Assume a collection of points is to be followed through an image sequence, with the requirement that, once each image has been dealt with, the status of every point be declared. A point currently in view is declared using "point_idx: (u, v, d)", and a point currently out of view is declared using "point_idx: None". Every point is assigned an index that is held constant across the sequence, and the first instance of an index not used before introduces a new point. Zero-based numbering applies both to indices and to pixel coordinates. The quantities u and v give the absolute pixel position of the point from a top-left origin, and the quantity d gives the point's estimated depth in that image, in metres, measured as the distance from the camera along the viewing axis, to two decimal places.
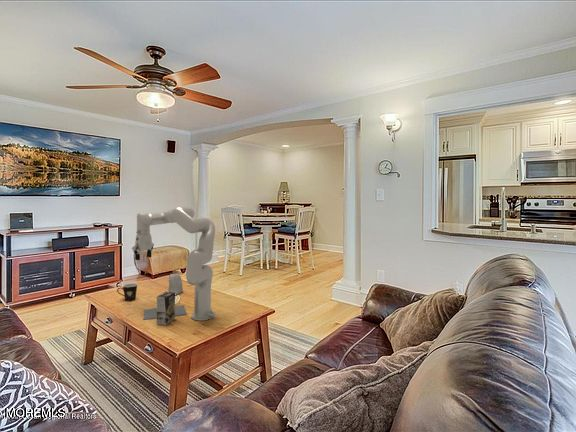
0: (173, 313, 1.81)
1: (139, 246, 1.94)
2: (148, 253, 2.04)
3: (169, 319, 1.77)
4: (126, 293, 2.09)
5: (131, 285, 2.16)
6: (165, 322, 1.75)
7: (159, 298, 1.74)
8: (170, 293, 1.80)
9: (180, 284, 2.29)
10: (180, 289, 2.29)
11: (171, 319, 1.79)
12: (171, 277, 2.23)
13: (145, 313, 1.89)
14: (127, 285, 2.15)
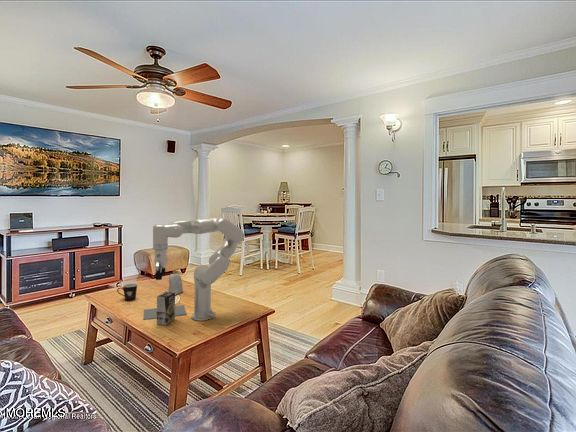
0: (173, 313, 1.81)
1: (162, 263, 1.68)
2: (161, 270, 1.77)
3: (169, 319, 1.77)
4: (126, 293, 2.09)
5: (131, 285, 2.16)
6: (165, 322, 1.75)
7: (159, 298, 1.74)
8: (170, 293, 1.80)
9: (180, 284, 2.29)
10: (180, 289, 2.29)
11: (171, 319, 1.79)
12: (171, 277, 2.23)
13: (145, 313, 1.89)
14: (127, 285, 2.15)
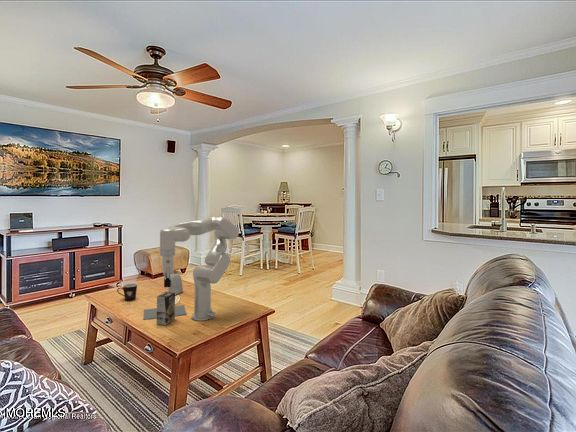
0: (173, 313, 1.81)
1: (171, 270, 1.59)
2: None
3: (169, 319, 1.77)
4: (126, 293, 2.09)
5: (131, 285, 2.16)
6: (165, 322, 1.75)
7: (159, 298, 1.74)
8: (170, 293, 1.80)
9: (180, 284, 2.29)
10: (180, 289, 2.29)
11: (171, 319, 1.79)
12: (171, 277, 2.23)
13: (145, 313, 1.89)
14: (127, 285, 2.15)
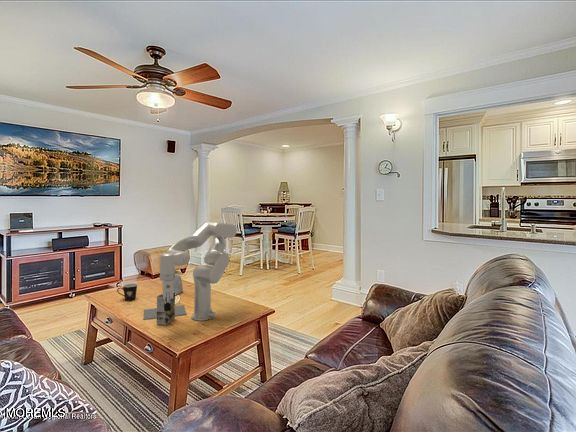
0: (173, 313, 1.81)
1: (171, 294, 1.60)
2: None
3: (169, 319, 1.77)
4: (126, 293, 2.09)
5: (131, 285, 2.16)
6: (165, 322, 1.75)
7: (159, 298, 1.74)
8: None
9: (180, 284, 2.29)
10: (180, 289, 2.29)
11: (171, 319, 1.79)
12: None
13: (145, 313, 1.89)
14: (127, 285, 2.15)
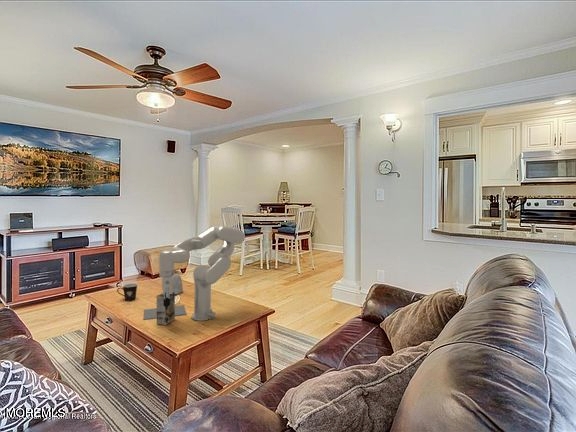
0: (173, 313, 1.81)
1: (170, 290, 1.67)
2: None
3: (169, 318, 1.77)
4: (126, 293, 2.09)
5: (131, 285, 2.16)
6: (165, 322, 1.75)
7: (159, 298, 1.75)
8: None
9: (180, 284, 2.29)
10: (180, 289, 2.29)
11: (171, 319, 1.79)
12: None
13: (145, 313, 1.89)
14: (127, 285, 2.15)
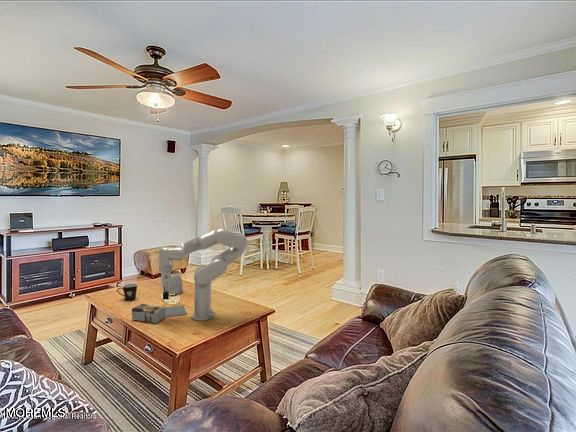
0: (157, 307, 1.83)
1: (169, 284, 1.78)
2: None
3: (155, 310, 1.79)
4: (126, 293, 2.09)
5: (131, 285, 2.16)
6: (153, 313, 1.76)
7: (133, 316, 1.79)
8: None
9: (180, 284, 2.29)
10: (180, 289, 2.29)
11: (158, 309, 1.80)
12: (171, 277, 2.23)
13: None
14: (127, 285, 2.15)
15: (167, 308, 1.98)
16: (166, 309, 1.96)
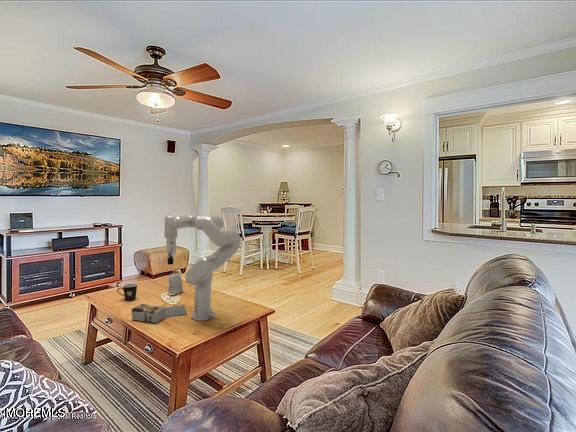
0: (157, 307, 1.83)
1: (174, 249, 1.91)
2: None
3: (155, 310, 1.79)
4: (126, 293, 2.09)
5: (131, 285, 2.16)
6: (153, 313, 1.76)
7: (133, 316, 1.79)
8: None
9: (180, 284, 2.29)
10: (180, 289, 2.29)
11: (158, 309, 1.80)
12: (171, 277, 2.23)
13: None
14: (127, 285, 2.15)
15: (167, 308, 1.98)
16: (166, 309, 1.96)
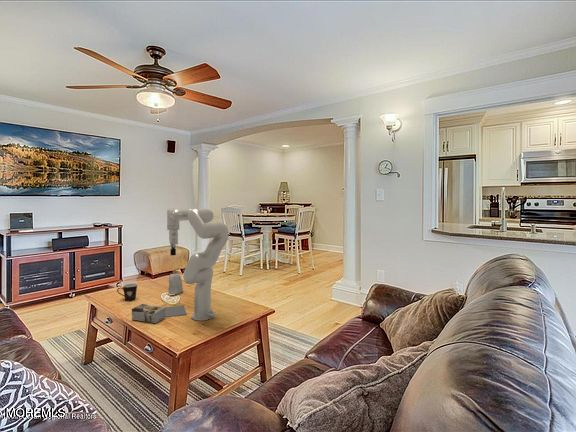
0: (157, 307, 1.83)
1: (176, 241, 2.00)
2: None
3: (155, 310, 1.79)
4: (126, 293, 2.09)
5: (131, 285, 2.16)
6: (153, 313, 1.76)
7: (133, 316, 1.79)
8: None
9: (180, 284, 2.29)
10: (180, 289, 2.29)
11: (158, 309, 1.80)
12: (171, 277, 2.23)
13: None
14: (127, 285, 2.15)
15: (167, 308, 1.98)
16: (166, 309, 1.96)
